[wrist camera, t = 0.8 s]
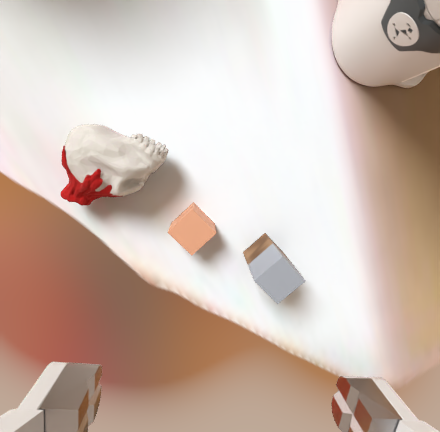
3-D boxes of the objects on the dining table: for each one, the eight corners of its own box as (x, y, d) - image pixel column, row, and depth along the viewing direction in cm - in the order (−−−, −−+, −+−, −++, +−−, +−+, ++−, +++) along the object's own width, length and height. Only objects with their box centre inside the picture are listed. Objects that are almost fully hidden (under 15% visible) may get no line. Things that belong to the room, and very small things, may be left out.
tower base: (265, 232, 45) (272, 243, 40) (283, 252, 46) (293, 265, 41) (242, 252, 45) (247, 264, 41) (261, 271, 47) (268, 285, 42)
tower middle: (273, 243, 40) (282, 256, 35) (293, 265, 41) (305, 281, 36) (248, 264, 41) (254, 280, 36) (268, 285, 42) (277, 304, 37)
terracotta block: (193, 202, 43) (192, 209, 38) (214, 223, 44) (216, 233, 39) (171, 222, 43) (167, 232, 39) (193, 243, 45) (191, 255, 40)
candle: (176, 150, 40) (117, 218, 44) (115, 93, 37) (58, 171, 41) (164, 158, 32) (92, 242, 35) (83, 86, 29) (15, 185, 33)
